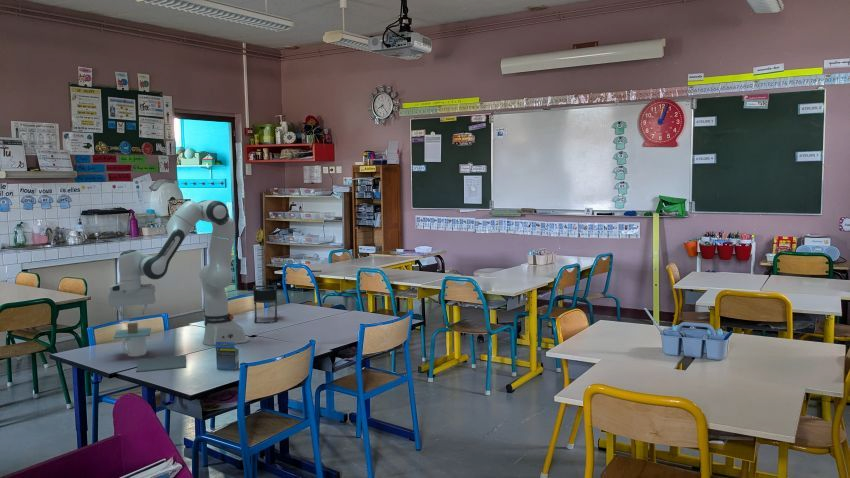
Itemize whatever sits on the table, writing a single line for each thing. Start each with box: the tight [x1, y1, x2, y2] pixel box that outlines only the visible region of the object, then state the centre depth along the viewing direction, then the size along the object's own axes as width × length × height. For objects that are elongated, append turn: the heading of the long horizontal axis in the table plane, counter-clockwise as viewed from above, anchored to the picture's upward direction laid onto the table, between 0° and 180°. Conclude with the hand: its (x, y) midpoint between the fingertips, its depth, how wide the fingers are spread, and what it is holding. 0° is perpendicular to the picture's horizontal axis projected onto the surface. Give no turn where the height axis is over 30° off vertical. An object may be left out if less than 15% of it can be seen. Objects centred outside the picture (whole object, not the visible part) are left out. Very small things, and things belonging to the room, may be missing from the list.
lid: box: [113, 322, 152, 340], centre depth 306 cm, size 15×15×5 cm
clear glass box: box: [252, 284, 278, 324], centre depth 384 cm, size 13×17×22 cm
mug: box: [121, 336, 147, 358], centre depth 307 cm, size 12×8×10 cm
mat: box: [135, 354, 187, 373], centre depth 293 cm, size 20×20×1 cm
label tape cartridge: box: [215, 342, 240, 371], centre depth 285 cm, size 9×4×12 cm, turn 81°
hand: (132, 314), depth 306 cm, fingers open, 8 cm apart
